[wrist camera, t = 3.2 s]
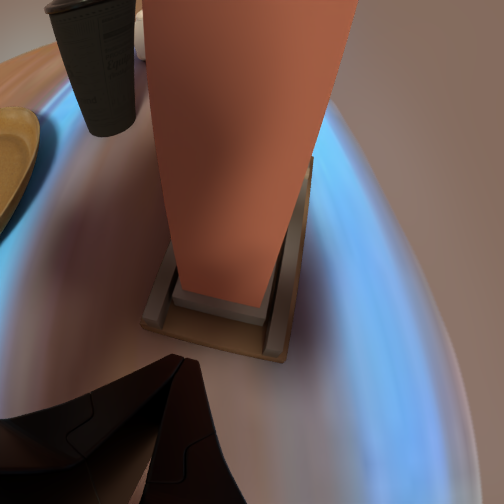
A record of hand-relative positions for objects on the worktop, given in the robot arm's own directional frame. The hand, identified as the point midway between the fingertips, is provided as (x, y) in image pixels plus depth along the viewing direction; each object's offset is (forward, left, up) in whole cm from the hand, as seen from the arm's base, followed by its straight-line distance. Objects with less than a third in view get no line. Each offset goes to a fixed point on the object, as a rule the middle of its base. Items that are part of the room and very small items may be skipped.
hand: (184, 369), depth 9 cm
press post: (+2, +6, -6) cm, 9 cm away
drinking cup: (-7, +24, -8) cm, 26 cm away
